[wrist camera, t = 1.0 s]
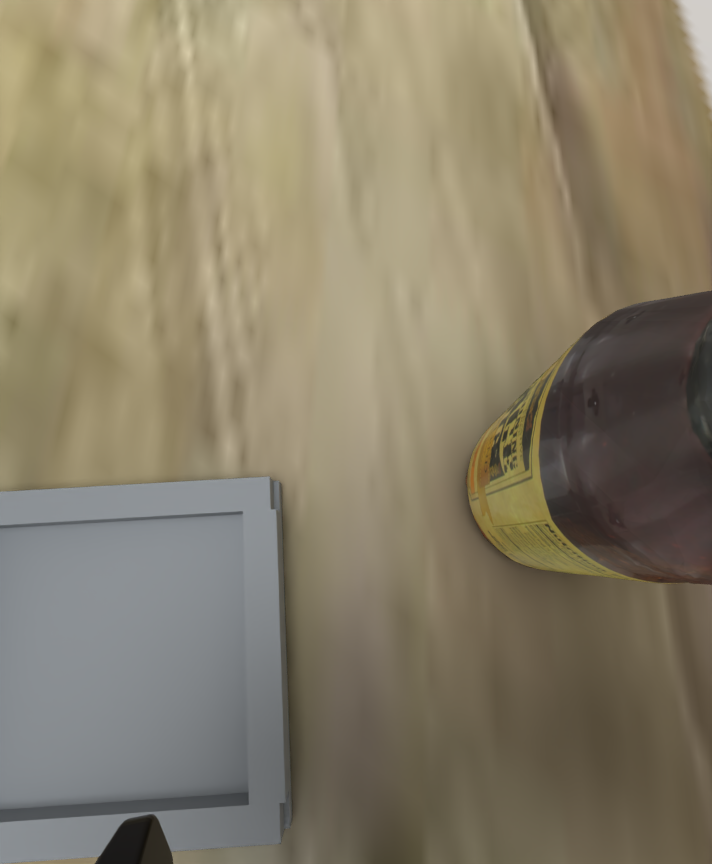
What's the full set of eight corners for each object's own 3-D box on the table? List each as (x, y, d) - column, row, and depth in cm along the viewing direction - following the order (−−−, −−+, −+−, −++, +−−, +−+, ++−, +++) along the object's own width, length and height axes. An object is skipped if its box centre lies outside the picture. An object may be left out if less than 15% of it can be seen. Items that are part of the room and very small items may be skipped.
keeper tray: (292, 819, 22) (286, 843, 20) (-51, 843, 22) (-90, 869, 20) (280, 483, 25) (275, 476, 23) (-27, 501, 24) (-59, 495, 22)
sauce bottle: (541, 385, 26) (1137, -177, 6) (648, 503, 25) (1746, 267, 5) (420, 485, 25) (681, 185, 5) (526, 611, 24) (1321, 809, 4)
